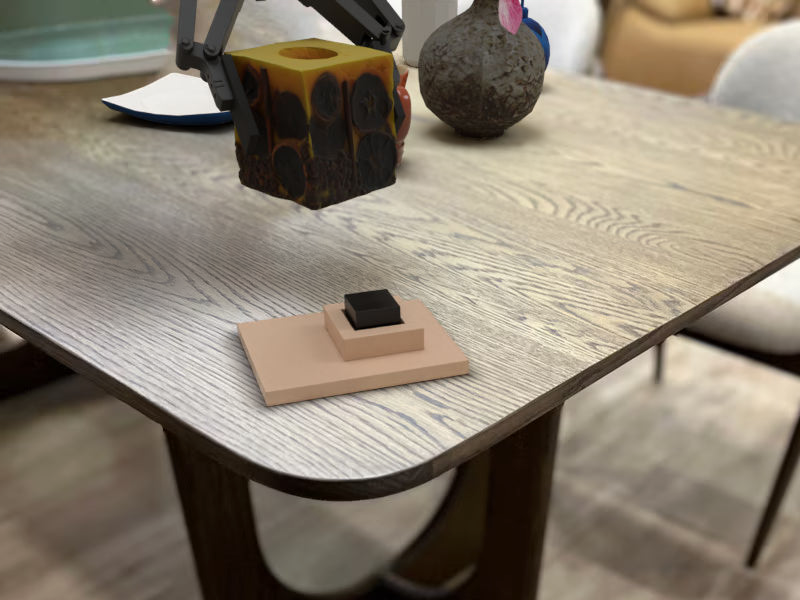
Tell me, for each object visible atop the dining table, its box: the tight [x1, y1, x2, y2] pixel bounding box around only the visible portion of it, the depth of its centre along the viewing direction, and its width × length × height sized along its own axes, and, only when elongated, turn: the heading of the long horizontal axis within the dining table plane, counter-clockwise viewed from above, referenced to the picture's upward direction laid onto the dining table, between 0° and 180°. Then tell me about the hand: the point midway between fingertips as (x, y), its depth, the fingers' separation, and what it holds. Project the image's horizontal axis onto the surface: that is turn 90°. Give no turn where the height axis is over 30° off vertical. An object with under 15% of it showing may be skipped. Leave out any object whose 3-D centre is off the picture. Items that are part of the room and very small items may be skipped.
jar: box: [401, 0, 459, 68], centre depth 144 cm, size 10×10×18 cm
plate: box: [101, 72, 233, 126], centre depth 122 cm, size 20×20×3 cm
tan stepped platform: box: [236, 294, 470, 407], centre depth 67 cm, size 16×12×3 cm
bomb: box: [520, 0, 551, 72], centre depth 132 cm, size 10×11×15 cm
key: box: [343, 288, 401, 331], centre depth 66 cm, size 4×4×2 cm
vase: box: [417, 0, 546, 140], centre depth 107 cm, size 17×18×30 cm
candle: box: [223, 37, 398, 211], centre depth 70 cm, size 10×10×10 cm
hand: (327, 136), depth 69 cm, fingers closed on candle, 12 cm apart
